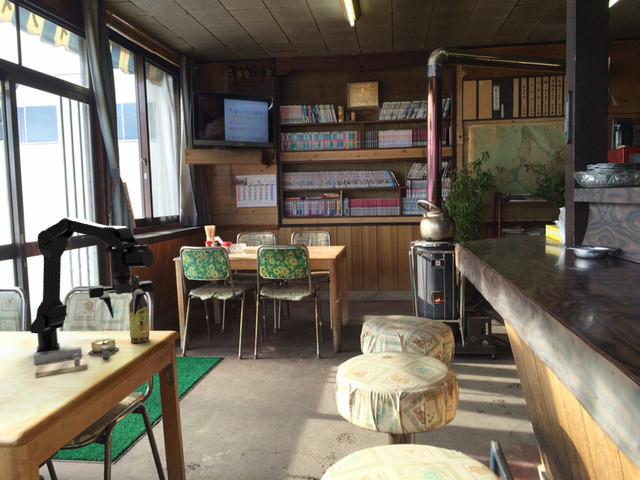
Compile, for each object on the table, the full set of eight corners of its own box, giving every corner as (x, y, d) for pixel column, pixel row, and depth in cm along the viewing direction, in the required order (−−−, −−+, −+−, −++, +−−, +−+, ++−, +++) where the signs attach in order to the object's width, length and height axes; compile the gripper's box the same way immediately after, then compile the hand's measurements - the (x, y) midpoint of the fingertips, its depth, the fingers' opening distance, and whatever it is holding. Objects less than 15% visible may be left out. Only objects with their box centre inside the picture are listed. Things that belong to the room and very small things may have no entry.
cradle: (35, 377, 137) (34, 366, 137) (36, 370, 143) (35, 359, 143) (87, 368, 143) (86, 358, 143) (86, 362, 149) (85, 352, 149)
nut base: (87, 350, 162) (87, 349, 162) (117, 345, 166) (117, 345, 166) (89, 357, 154) (89, 356, 154) (120, 352, 158) (120, 351, 158)
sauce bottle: (143, 344, 167) (139, 285, 165) (126, 343, 168) (123, 285, 167) (153, 338, 173) (150, 282, 172) (137, 338, 175) (134, 282, 173)
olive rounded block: (91, 348, 161) (90, 339, 161) (114, 345, 165) (113, 336, 164) (93, 360, 149) (92, 350, 149) (118, 356, 153) (117, 346, 152)
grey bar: (34, 364, 149) (33, 356, 148) (35, 361, 152) (34, 353, 152) (81, 357, 155) (81, 349, 154) (81, 354, 158) (80, 346, 158)
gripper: (88, 272, 143) (92, 326, 144) (156, 266, 151) (159, 317, 153) (87, 268, 153) (90, 318, 154) (150, 263, 161) (153, 310, 162)
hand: (123, 316), depth 156 cm, fingers open, 6 cm apart
